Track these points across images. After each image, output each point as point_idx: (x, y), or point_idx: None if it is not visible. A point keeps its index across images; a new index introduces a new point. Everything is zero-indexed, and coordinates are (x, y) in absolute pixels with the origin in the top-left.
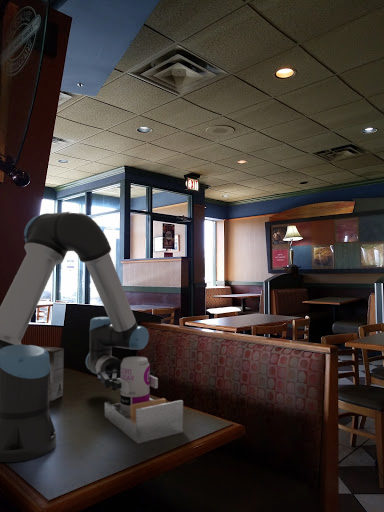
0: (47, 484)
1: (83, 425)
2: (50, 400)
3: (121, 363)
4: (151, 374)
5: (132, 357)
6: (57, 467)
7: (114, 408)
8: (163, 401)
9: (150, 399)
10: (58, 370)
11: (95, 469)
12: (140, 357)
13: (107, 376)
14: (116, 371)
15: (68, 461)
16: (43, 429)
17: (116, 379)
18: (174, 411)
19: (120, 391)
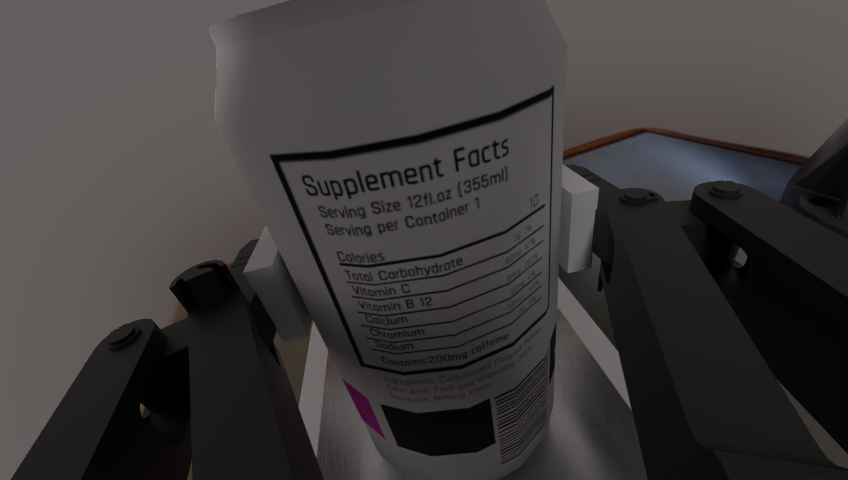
0: (674, 147)
1: (795, 403)
2: None
3: (553, 22)
4: (177, 326)
5: (340, 6)
6: (688, 173)
7: (589, 327)
8: None
9: (311, 434)
10: None
11: (589, 170)
12: (236, 33)
13: (793, 256)
14: (728, 450)
15: (671, 186)
16: (830, 137)
17: (616, 257)
18: None
19: (556, 307)
